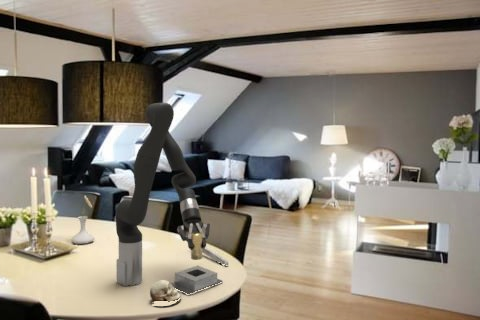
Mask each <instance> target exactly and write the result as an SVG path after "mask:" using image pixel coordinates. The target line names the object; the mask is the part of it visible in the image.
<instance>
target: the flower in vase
mask: <svg viewBox="0 0 480 320" xmlns="http://www.w3.org/2000/svg"><path fill="white" fill-rule="evenodd" d="M84 200H85V203H84V205H83V208H82V212H81V213H80V216H78V217H77V219H78V220H79V223H80V229H79V232H78V233H76V234H75V235H74V236H73V237H72V238H71V242H72V243H74V244H81V245H82V244H89V243H92V242H93V241H94V240H95V237H94V235H92V234H91V233H89V232H88V231H87V230H86V221H87V219H88V216H87V215H84V214H86V213H87V212H86V209H85V207H86V204H87V205H88V206H89V207H90V208H91V209H92V208H93V205H92V203H91V201H90V200H89V198H88V197H87V196H86V195H84Z"/></svg>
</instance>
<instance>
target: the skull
mask: <svg viewBox="0 0 480 320" xmlns="http://www.w3.org/2000/svg"><path fill="white" fill-rule="evenodd" d="M170 284H171V283H170V281H168V280H166V279H160V280H157V281H156V282H155V283H153V285H151V287H150V290H149V295H150V296H149V297H150V298H151V300H152V301H153V300H154V301H168V302H170V301H175V300H178V299H179V298H180V297H181V295H180V294H179V293H178V291H177V290H176V289H175V288H174V287H173V286H172V285H170ZM181 299H182V297H181ZM181 299H180V300H179V301H177V302H176V303H175V304H174V305H176V304H178V303H179V302H180V301H181Z"/></svg>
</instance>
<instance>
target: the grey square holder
mask: <svg viewBox="0 0 480 320" xmlns="http://www.w3.org/2000/svg"><path fill="white" fill-rule="evenodd" d="M220 282H222V283H223V280H222V279H219V278H218V272H216V271H214V270H212V269H211V270H210V269H208V268H205V267H202V266H199V265H196V266H192V267H189V268H186V269H182V270H180V271H175V273H174V282H172V283H169V284H170V285H172V286H173V287H174V288H176V289H178V290H180V291H183V292H185V293H187V294H190V293H193V292H195V291H198V290H201V289H204V288H206V287H209V286H212V285H215V284H218V283H220Z"/></svg>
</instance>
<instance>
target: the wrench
mask: <svg viewBox="0 0 480 320" xmlns="http://www.w3.org/2000/svg"><path fill="white" fill-rule="evenodd" d="M202 254H204V255H206V256H207V257H209V258H210V259H212V261H214V262H216V261H217V262H220V263H221V264H225V266H226V265H228V266H229V261H228V259H226V258H224V257H222V256H221V255H220V254H217V253H216V252H214V251H213V250H211V249H209V248H208V247H207V246H206V247H205V249H203V248H202ZM217 262H216V263H217ZM226 267H227V266H226Z"/></svg>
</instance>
